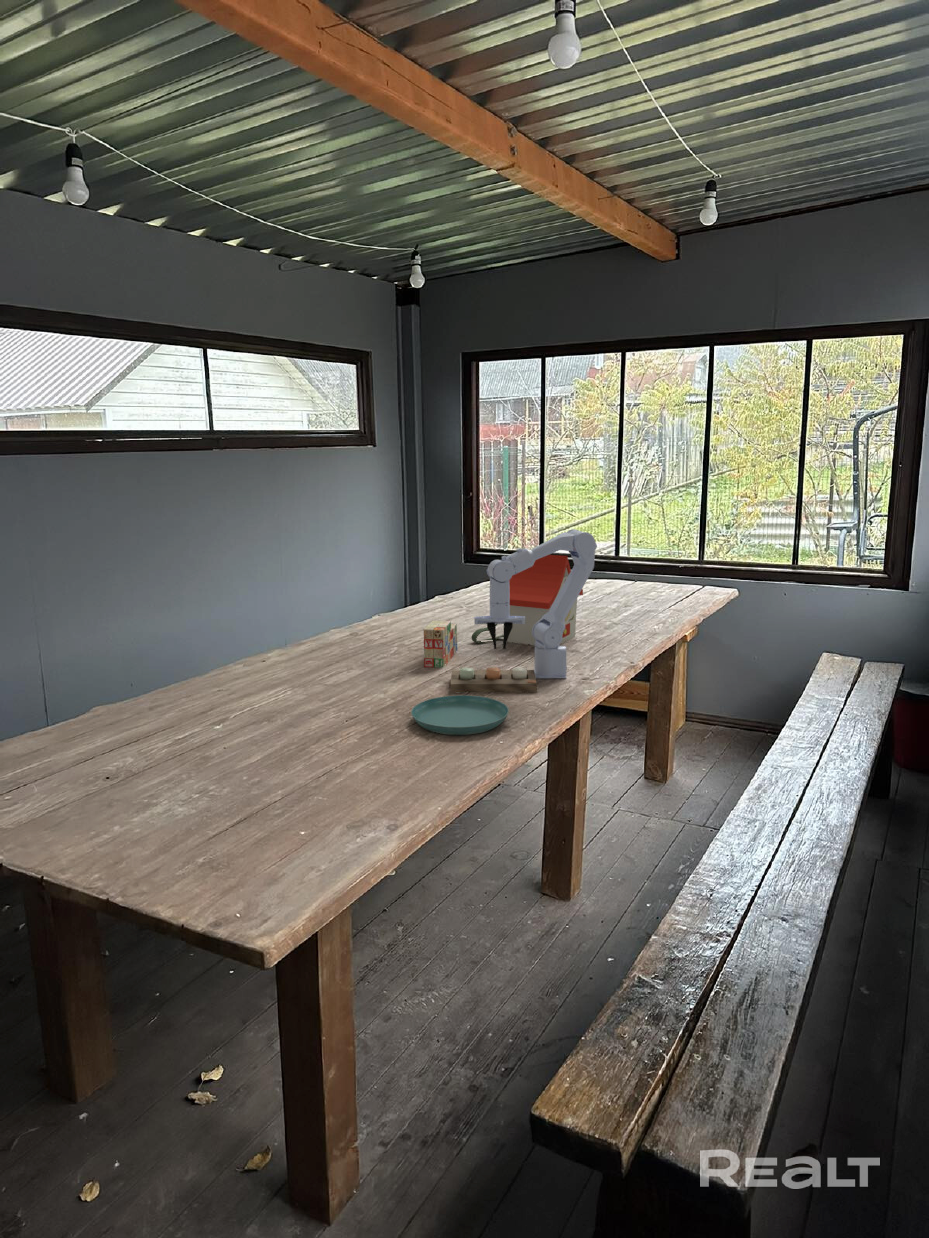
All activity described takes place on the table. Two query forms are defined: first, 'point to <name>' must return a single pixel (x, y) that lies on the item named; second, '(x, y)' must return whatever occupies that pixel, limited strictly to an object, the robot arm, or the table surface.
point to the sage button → (466, 673)
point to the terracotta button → (492, 673)
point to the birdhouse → (537, 598)
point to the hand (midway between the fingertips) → (499, 648)
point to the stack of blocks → (439, 643)
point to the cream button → (519, 673)
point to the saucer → (460, 714)
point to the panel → (493, 682)
